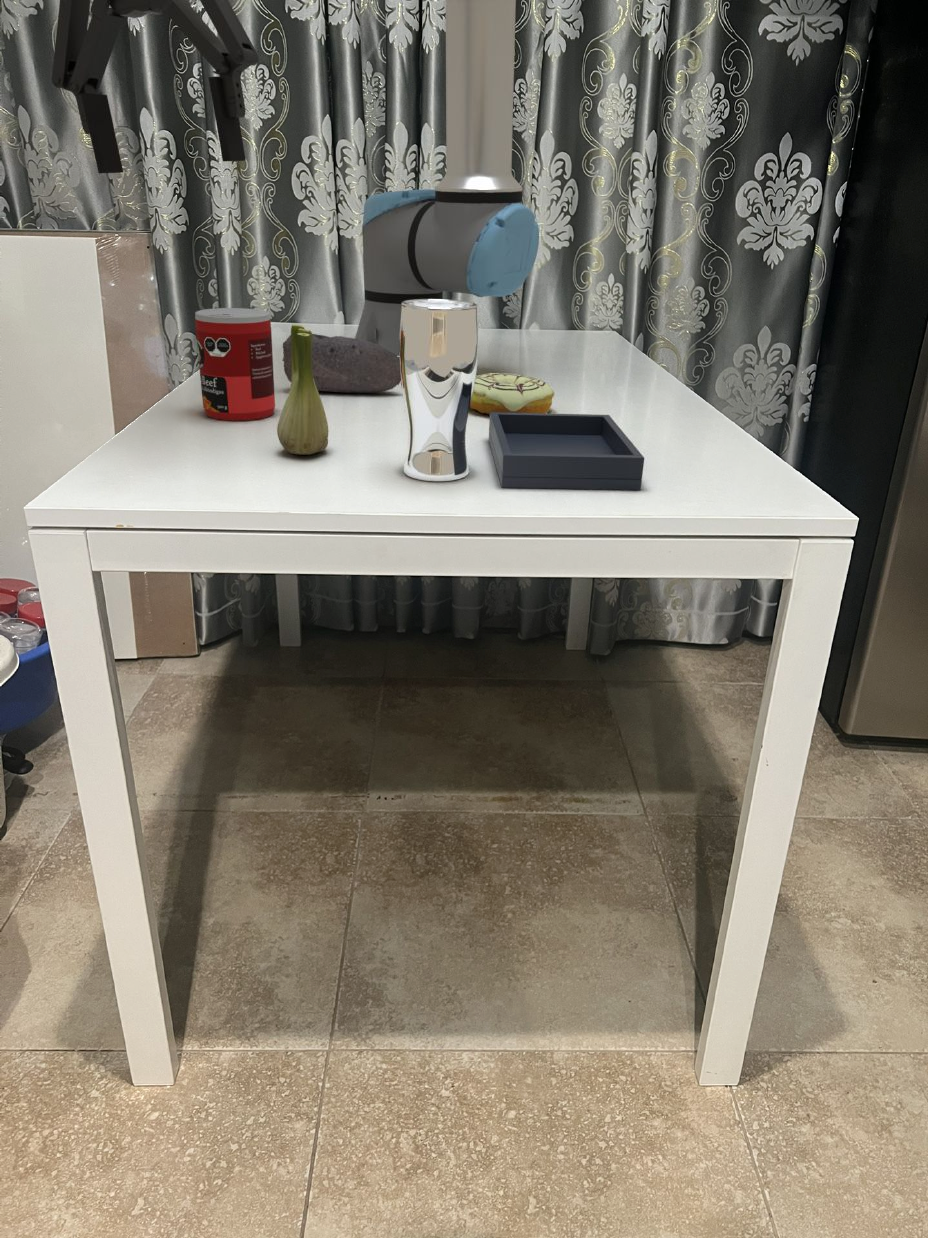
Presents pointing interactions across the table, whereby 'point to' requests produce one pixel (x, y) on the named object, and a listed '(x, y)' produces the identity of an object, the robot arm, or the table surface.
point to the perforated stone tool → (348, 365)
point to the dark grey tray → (563, 452)
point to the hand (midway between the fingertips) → (171, 167)
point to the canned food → (235, 363)
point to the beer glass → (437, 384)
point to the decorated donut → (510, 394)
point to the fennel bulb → (302, 402)
